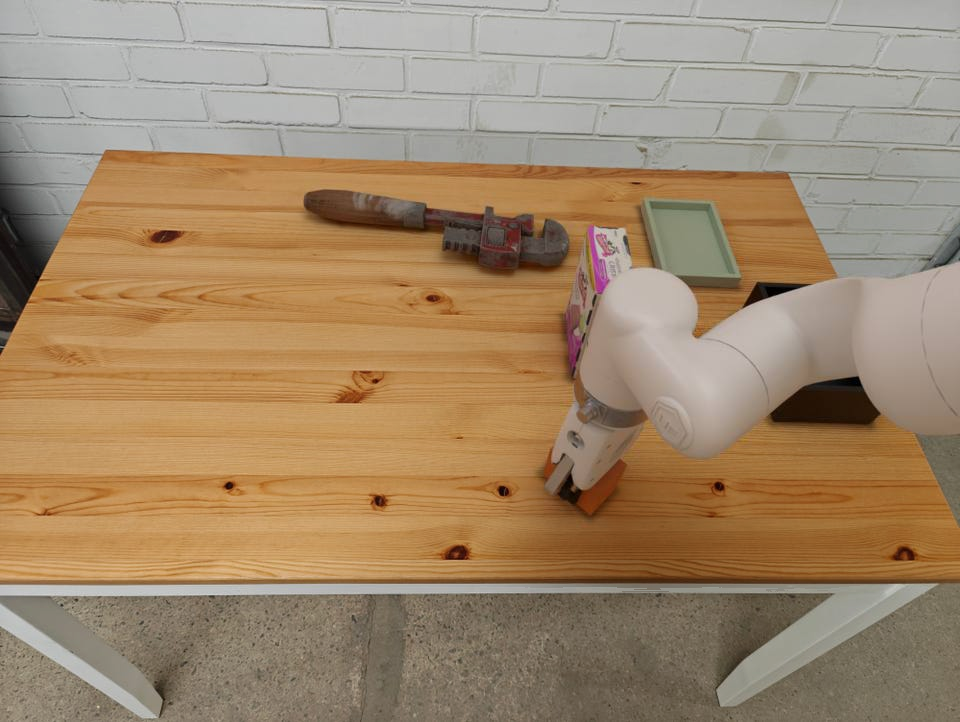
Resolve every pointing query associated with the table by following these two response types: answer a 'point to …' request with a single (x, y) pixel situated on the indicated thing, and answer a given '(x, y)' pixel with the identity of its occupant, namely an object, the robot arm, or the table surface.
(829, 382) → the dark open storage bin
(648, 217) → the shallow green tray
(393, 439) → the table surface
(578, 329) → the candy bar box
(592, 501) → the orange brown rectangular block
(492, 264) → the pipe wrench
